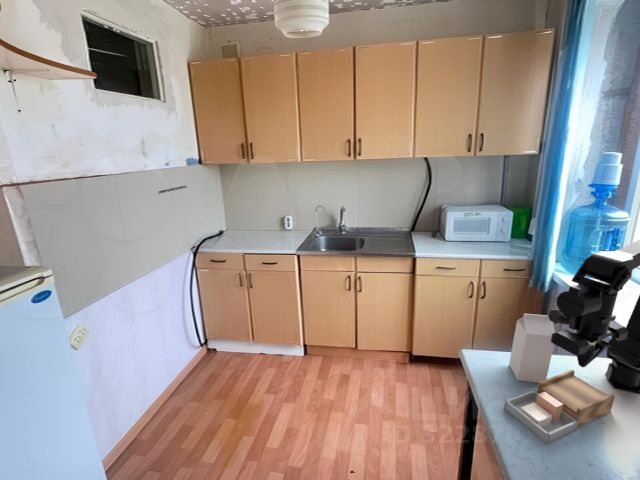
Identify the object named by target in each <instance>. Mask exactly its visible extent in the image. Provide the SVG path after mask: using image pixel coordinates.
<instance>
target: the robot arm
mask: <svg viewBox="0 0 640 480" xmlns="http://www.w3.org/2000/svg"><path fill="white" fill-rule="evenodd" d="M638 267H640V239H638V240H635V241H634V242H631V243H629V245H626V246H624V247H622V248H620V249H618V250H614V251H613V250H610V251H608V250H607V251H605V250H604V251H598V252H594V253H592V254H590V255H589V256H588V257H587V258H586V259H584V261H583V262H582V264H581V266H580V267H579V268H578V270H577V271H576V273H575V274H574V275H573V278H571V282H573V283H575V284H576V285H570V286H569V287H568V288H569V289H568V290H566V291H563V292H561V293H560V294H558V295H557V298H556V306H557V307H556V308H555V307H554V308H551V309H550V310H549V311H548V314H547V316H548V317H549V319H550V321H552V322H553V324H561V325H568V328H569V329H571V330H573V331H575V330H576V332H573V331H570V330H568V329H564V330H560V331H557V332H556V331H555V333H553V334H552V336H551V343H553V344H554V346H557V347H559V348H561V349H563V350H564V351H566V352H568V353H570V354H572V355H574V356H576V358H577V363H578V366H579V367H581V368H586V367H587V366H588V365H589V364H590V363H591V362H592V361H594V360H595V359H596V358H597V357H598V356H599V355H601V354H602V353H603V352H605V351H606V358H607V359H609V360H611V362H610V363H608V365H607V369H606V371H605V377H606V378H607V380H608V382H609V383H610V384H611V386H612V388H615V389H618V390H623V391H627V392H632V393H635V394H636V393H637V394H640V294H639V295H638V297H637V300H636V301H635V305H634V308H633V309H632V312H631V315H630V317H629V319H628V322H627V324H626V326H625V325H621V324H619V323H617V322H614V321H616V318H617V316H616V315H615V314H613V312H614V308H615V306H616V300H617V298H618V293H619V292H620V291H622V290H623V289H624V286H625V285H626V284H627V283H628V281H629V280H630V279H631V278H632V277H633V276H632V275H633V271H634V270H635V269H636V268H638ZM577 284H578V285H577ZM611 336H612V337H611ZM608 337H611V338H610V340H609V341H608V342H607V341H605V340H606V338H608Z"/></svg>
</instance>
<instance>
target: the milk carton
mask: <svg viewBox="0 0 640 480" xmlns="http://www.w3.org/2000/svg"><path fill="white" fill-rule="evenodd" d="M514 330H515V332H514V334H513V335H514V336H513V342H512V346H511V352H510V357H509V363H508V365H509V367H510V368H511V371H512V373H513V374H514V376H515V378H516V380H517V381H520V382H521V381H522V382H527V383H528V382H529V383H536V384H538V383H539V382H540V381H543V380H546V379H548V378H547V377H548V373H549V369H550V364H551V358H552V356H553V352H554V351H553V350H554V348H555V347H554V346H555V344H553V343H551V336H552V334H553V333H556V331H555V326H554V323H553V322H552V321H550V319H549V317H548V314H547V315H545V314H532V313H523V317H521V318H519V319H517V320H516V324H515V329H514Z"/></svg>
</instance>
